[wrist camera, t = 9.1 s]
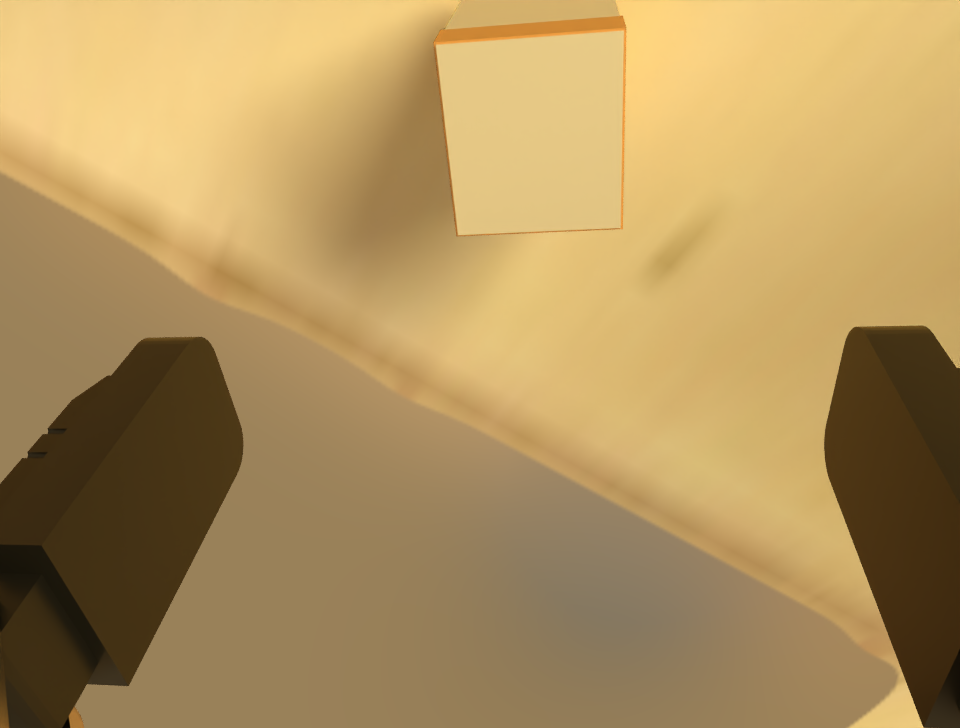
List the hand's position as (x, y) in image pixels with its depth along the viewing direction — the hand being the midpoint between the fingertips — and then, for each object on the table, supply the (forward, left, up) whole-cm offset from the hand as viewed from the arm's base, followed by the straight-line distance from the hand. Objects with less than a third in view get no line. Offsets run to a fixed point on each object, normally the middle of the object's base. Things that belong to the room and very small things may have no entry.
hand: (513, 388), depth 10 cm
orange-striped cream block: (0, 0, -16) cm, 16 cm away
